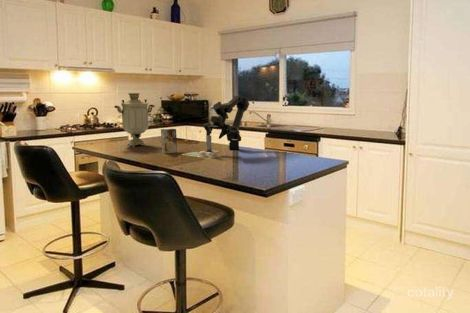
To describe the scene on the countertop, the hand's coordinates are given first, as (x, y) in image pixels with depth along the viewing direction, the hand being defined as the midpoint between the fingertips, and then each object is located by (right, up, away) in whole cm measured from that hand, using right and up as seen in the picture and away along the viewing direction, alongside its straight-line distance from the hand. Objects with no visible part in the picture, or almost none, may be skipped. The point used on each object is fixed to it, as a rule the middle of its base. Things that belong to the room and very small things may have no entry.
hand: (212, 138), depth 255 cm
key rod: (-2, -11, -2) cm, 12 cm away
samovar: (-62, -3, +55) cm, 83 cm away
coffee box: (-31, -9, +20) cm, 38 cm away
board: (-7, -12, +2) cm, 14 cm away
